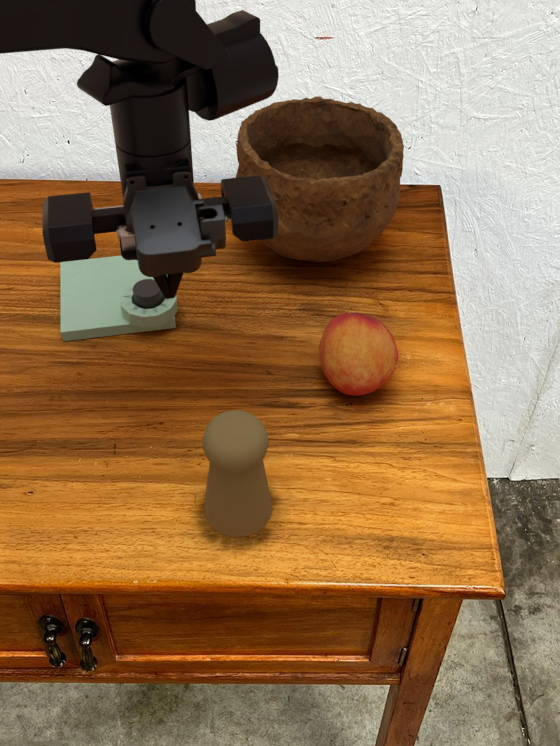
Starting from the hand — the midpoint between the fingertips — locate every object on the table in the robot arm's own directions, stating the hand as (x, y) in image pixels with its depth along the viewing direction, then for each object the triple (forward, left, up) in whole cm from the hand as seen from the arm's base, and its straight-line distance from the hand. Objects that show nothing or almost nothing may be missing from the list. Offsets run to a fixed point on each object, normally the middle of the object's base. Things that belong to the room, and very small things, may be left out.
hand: (169, 295), depth 70 cm
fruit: (+18, -3, -12) cm, 21 cm away
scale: (-5, +14, -12) cm, 19 cm away
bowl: (+18, +20, -12) cm, 30 cm away
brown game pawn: (+3, -16, -12) cm, 20 cm away
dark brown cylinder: (-2, +10, -9) cm, 14 cm away
